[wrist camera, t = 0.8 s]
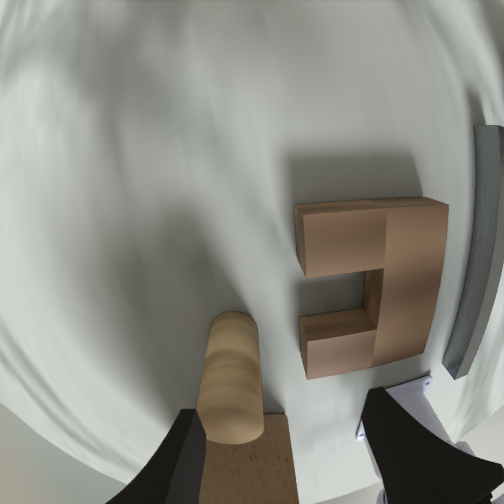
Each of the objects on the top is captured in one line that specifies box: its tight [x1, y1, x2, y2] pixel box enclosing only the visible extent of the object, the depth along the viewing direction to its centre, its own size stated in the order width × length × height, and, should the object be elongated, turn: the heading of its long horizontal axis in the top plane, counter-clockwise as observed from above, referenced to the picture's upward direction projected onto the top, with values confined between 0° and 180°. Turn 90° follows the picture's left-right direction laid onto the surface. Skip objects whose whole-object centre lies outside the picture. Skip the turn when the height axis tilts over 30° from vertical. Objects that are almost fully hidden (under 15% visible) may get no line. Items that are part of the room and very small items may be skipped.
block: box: [294, 197, 449, 380], centre depth 18 cm, size 12×10×3 cm
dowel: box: [196, 311, 264, 444], centre depth 16 cm, size 4×4×9 cm
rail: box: [442, 125, 504, 380], centre depth 18 cm, size 24×2×3 cm, turn 6°
